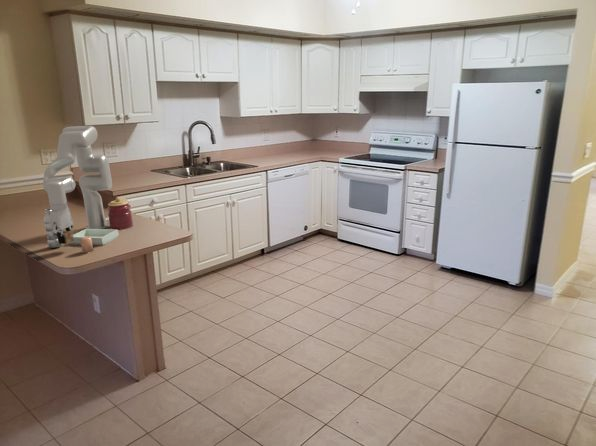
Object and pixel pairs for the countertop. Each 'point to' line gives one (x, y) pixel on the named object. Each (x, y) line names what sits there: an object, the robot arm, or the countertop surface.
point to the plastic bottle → (50, 231)
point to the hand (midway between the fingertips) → (66, 241)
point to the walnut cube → (67, 237)
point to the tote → (96, 236)
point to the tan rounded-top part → (86, 244)
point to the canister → (119, 214)
